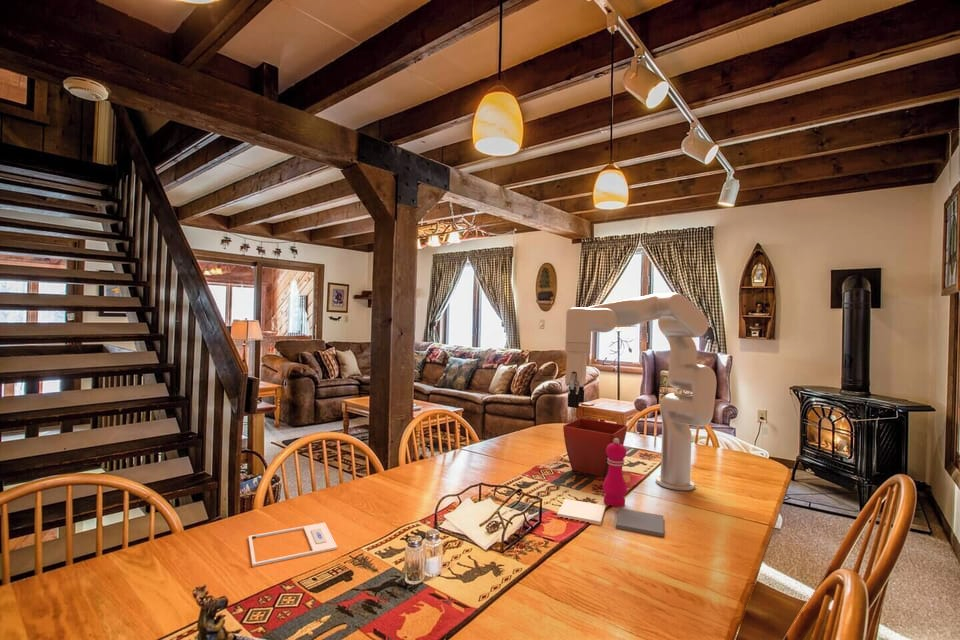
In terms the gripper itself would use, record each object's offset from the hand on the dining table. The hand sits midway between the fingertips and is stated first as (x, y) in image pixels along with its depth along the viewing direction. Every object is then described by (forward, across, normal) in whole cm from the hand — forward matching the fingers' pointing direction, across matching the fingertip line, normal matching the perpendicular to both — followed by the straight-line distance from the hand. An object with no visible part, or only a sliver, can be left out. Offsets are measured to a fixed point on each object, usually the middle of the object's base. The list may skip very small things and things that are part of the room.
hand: (575, 404), depth 141 cm
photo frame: (+31, +54, -57) cm, 85 cm away
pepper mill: (+31, -7, +12) cm, 33 cm away
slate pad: (+30, +5, +20) cm, 36 cm away
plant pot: (+31, -37, +2) cm, 48 cm away
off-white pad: (+30, +5, +4) cm, 31 cm away
